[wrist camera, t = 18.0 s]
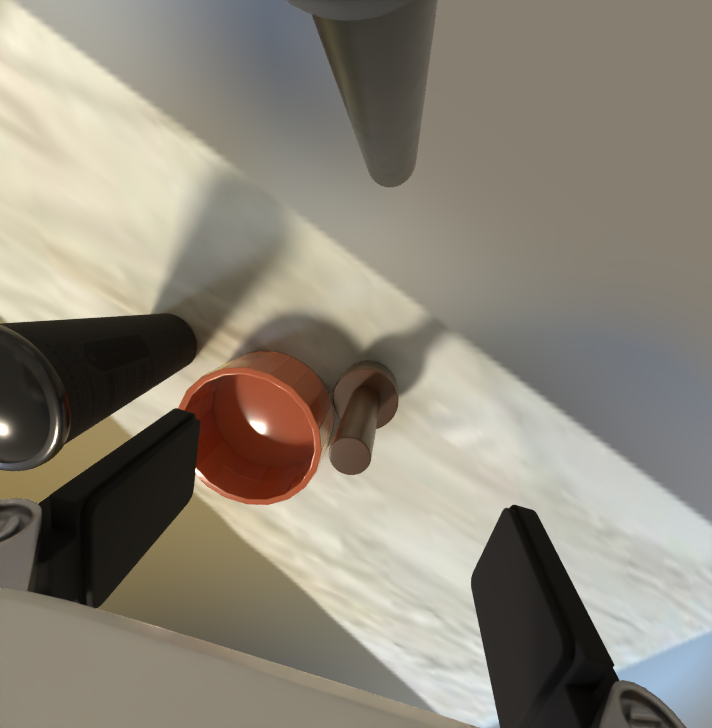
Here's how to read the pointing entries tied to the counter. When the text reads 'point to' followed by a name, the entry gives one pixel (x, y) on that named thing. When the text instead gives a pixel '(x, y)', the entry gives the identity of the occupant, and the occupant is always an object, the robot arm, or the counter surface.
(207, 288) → the counter surface
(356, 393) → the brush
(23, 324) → the drinking cup
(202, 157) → the counter surface
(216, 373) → the bowl
